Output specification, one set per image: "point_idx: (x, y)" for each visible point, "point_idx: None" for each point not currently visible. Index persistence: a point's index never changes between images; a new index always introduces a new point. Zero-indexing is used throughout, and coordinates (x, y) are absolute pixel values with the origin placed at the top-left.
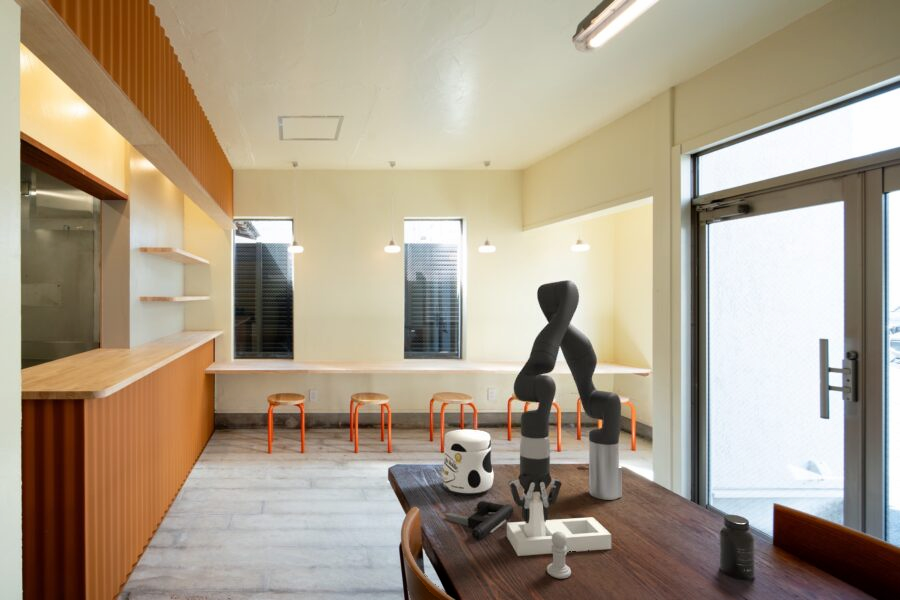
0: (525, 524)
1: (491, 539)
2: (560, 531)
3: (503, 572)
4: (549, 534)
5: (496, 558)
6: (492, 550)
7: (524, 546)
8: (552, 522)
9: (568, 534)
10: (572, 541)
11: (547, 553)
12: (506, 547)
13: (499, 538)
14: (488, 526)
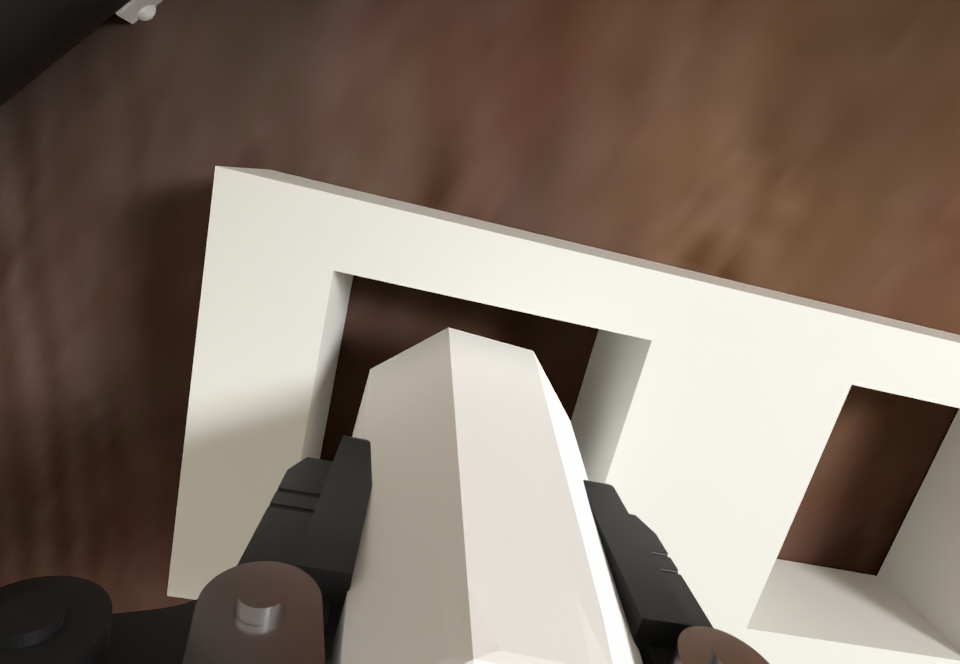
0: (361, 424)
1: (85, 167)
2: (682, 558)
3: None
4: None
5: (27, 487)
6: (30, 364)
7: None
8: (752, 364)
9: (709, 620)
10: None
11: None
12: (181, 360)
13: (178, 179)
14: (12, 33)
